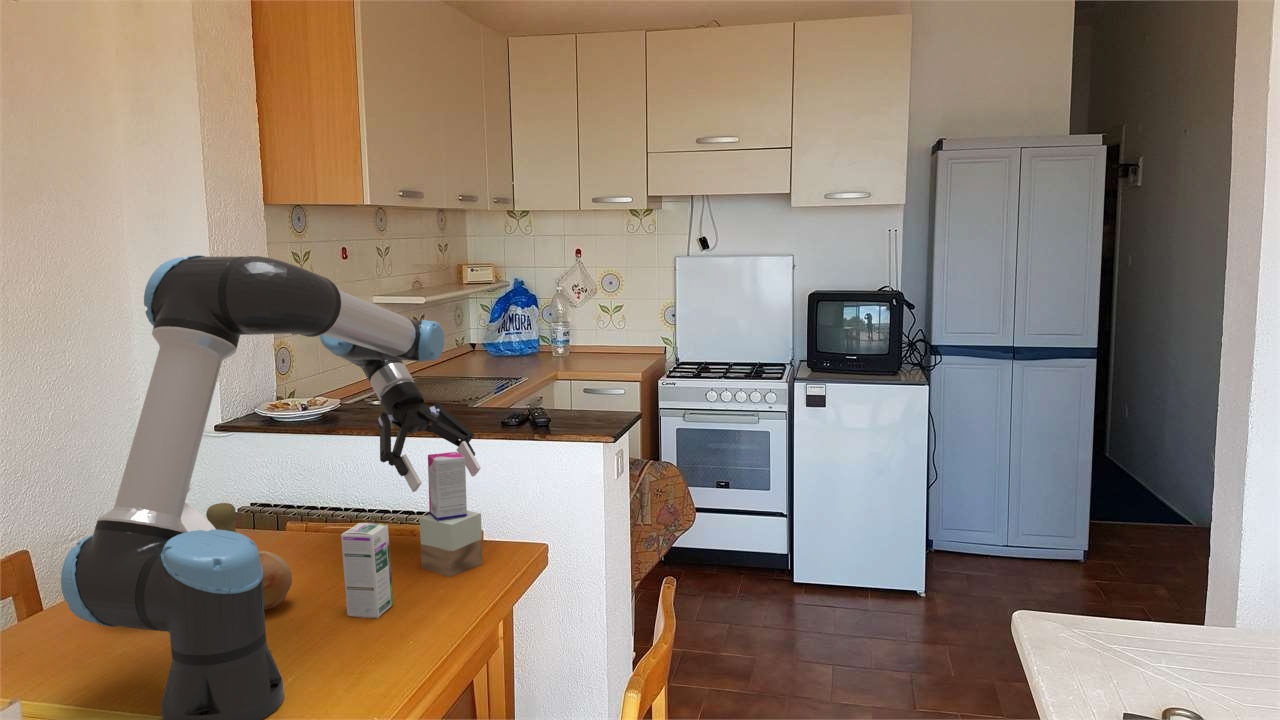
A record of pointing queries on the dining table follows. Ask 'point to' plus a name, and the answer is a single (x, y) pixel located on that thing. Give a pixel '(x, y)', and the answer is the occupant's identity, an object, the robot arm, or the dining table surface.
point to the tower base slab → (451, 558)
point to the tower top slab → (451, 531)
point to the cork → (222, 516)
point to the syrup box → (367, 570)
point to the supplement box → (447, 486)
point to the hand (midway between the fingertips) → (447, 479)
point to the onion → (274, 579)
